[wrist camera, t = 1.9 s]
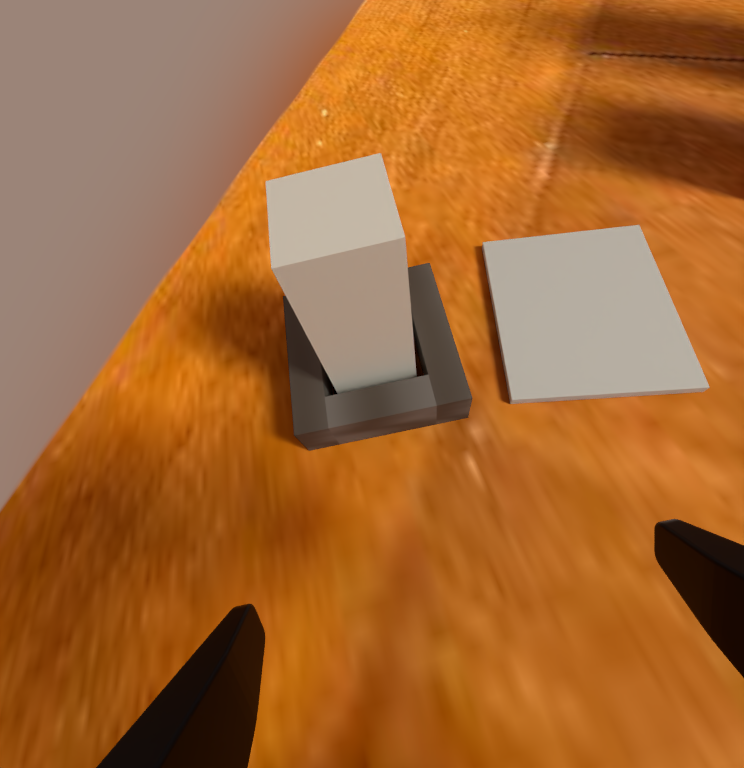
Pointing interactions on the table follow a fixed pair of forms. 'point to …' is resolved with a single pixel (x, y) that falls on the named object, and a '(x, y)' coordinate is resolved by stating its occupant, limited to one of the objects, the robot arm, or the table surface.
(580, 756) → the table surface
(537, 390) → the rubber mat
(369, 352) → the off-white block
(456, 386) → the block
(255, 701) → the robot arm
